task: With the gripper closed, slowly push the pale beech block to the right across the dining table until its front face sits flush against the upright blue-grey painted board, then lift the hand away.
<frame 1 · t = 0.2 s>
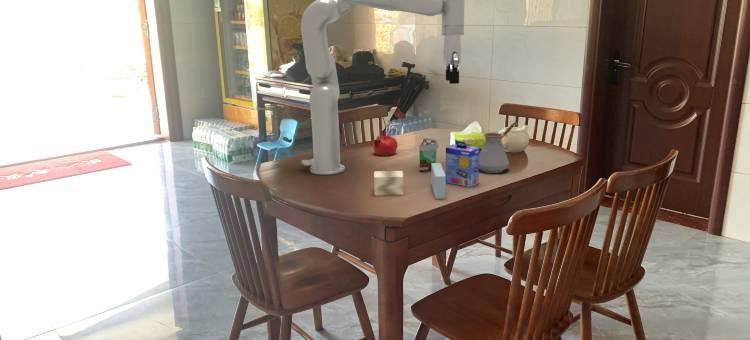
hand: (452, 81, 200), 31 cm above the table, tool pointing down, fingers open, 9 cm apart
block: (388, 192, 183), on the table
ink cartridge box: (461, 183, 190), on the table
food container: (429, 169, 209), on the table
pomegranate: (385, 154, 232), on the table
coffee pot: (499, 168, 208), on the table
board: (438, 190, 183), on the table
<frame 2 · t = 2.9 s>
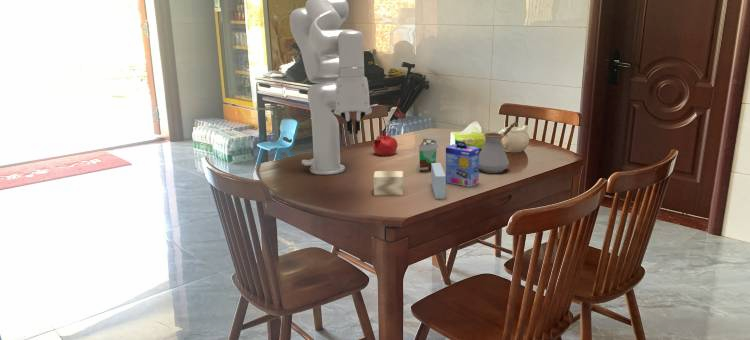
hand: (353, 133, 178), 19 cm above the table, tool pointing down, fingers closed
nothing on the table moved.
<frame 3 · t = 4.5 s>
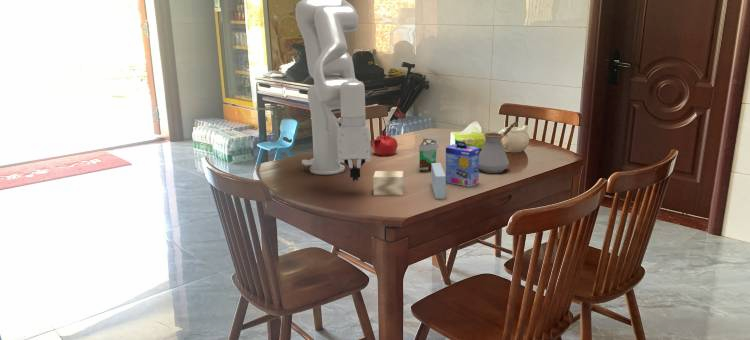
hand: (355, 179, 182), 4 cm above the table, tool pointing down, fingers closed
nothing on the table moved.
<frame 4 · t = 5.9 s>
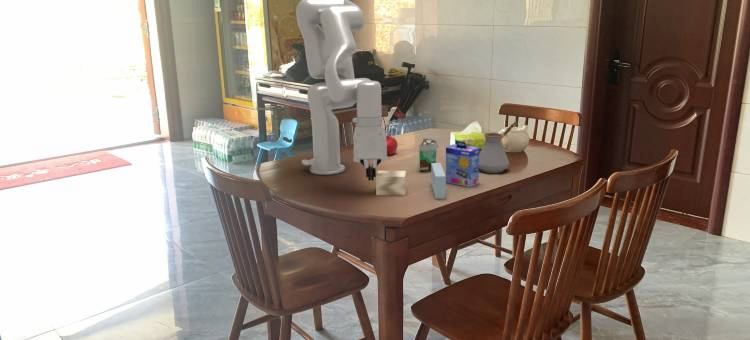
hand: (371, 179, 182), 4 cm above the table, tool pointing down, fingers closed
block: (391, 191, 183), on the table, touching gripper
everything else where it was.
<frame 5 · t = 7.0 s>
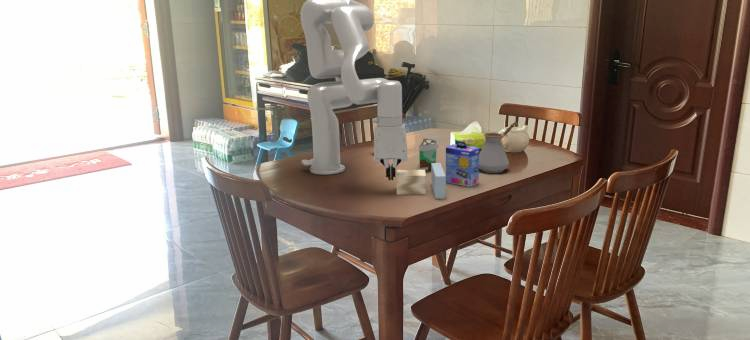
hand: (390, 179, 182), 4 cm above the table, tool pointing down, fingers closed
block: (411, 191, 183), on the table, touching gripper
everything else where it was.
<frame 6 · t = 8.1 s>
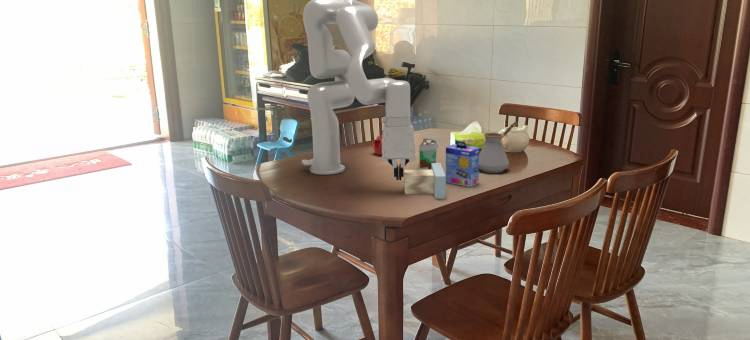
hand: (398, 179, 182), 4 cm above the table, tool pointing down, fingers closed
block: (418, 190, 183), on the table, touching board, gripper
everything else where it was.
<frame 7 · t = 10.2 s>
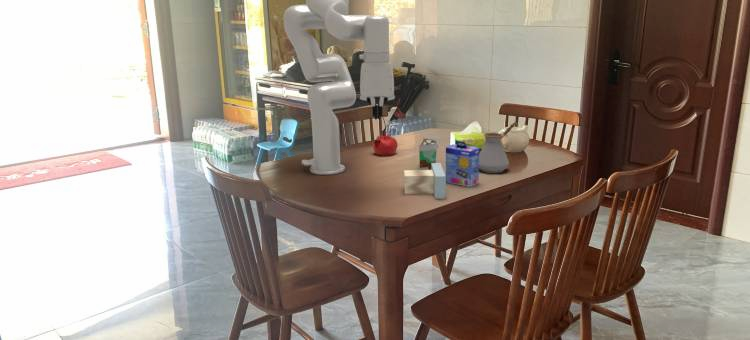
hand: (377, 118, 179), 23 cm above the table, tool pointing down, fingers closed
block: (418, 191, 183), on the table
everything else where it was.
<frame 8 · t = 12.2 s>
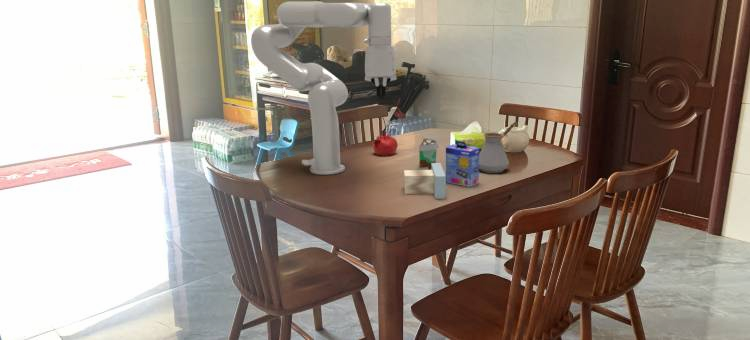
hand: (381, 97, 194), 27 cm above the table, tool pointing down, fingers closed
nothing on the table moved.
at the end: block 0.9 cm from the target spot on the table beside the board, on the table; block tilted 0° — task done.
